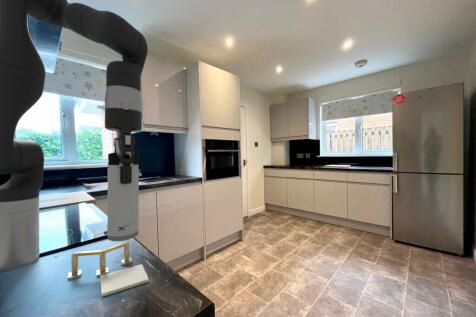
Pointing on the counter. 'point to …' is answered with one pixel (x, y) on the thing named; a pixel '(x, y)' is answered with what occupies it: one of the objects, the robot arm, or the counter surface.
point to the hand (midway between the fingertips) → (123, 181)
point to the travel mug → (122, 201)
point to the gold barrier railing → (102, 253)
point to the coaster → (123, 279)
